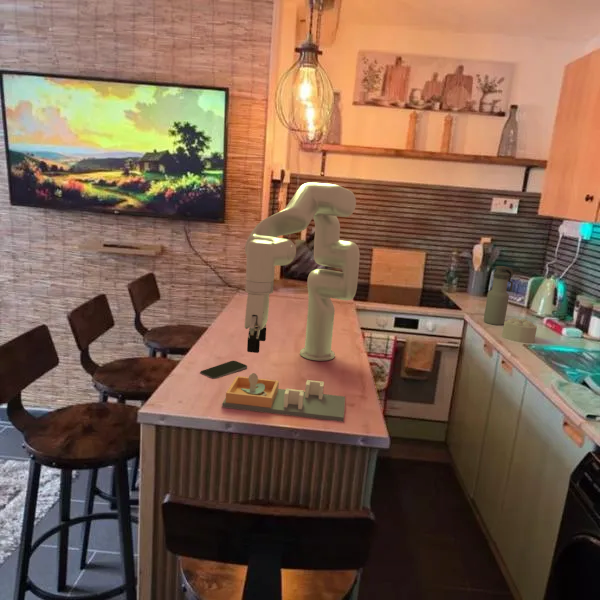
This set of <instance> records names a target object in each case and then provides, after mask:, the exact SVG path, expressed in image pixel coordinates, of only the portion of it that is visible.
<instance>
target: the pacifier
mask: <svg viewBox="0 0 600 600" xmlns="http://www.w3.org/2000/svg"><path fill="white" fill-rule="evenodd" d="M248 377H249V382H250V389H243V388H241V390H242V391H244V392H246V393H247V394H251V395H259V394H260V393H262V395H260V396H266V395H267V393H266V392H264V390H265V385H264V384H262V383H259V384H256V383H257V381H258V379H259V377H258V375H257V373H255V372H252V373H250V374H249V376H248ZM256 387H258V388H256Z"/></svg>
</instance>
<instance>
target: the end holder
mask: <svg viewBox="0 0 600 600" xmlns="http://www.w3.org/2000/svg"><path fill="white" fill-rule="evenodd" d="M279 382H280V381H279V380H277V379H276V380H274V379H265V378H258V381H257V383H256V384H259V383H262V384H264V385H265V390H264V392H266V393H267V395H266V396H260V395H262V393H260V394H259V395H251V394H247V393H246V392H244V391H242V390H241V388H243V389H250V382H249V376H239V375H237V376H235V378H234V380H233V381H232V383H231V384H230V386H229V387H228V389H227V390H226V392H225V398H226V402H227V403H235V404H244V405H252V406H260V407H269V408H271V407H272V404H273V402H274V399H275V397H276V394H277V391H278V389H279ZM256 388H258V387H256Z"/></svg>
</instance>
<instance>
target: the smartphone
mask: <svg viewBox="0 0 600 600" xmlns="http://www.w3.org/2000/svg"><path fill="white" fill-rule="evenodd" d="M247 369H248V365H247V364H245V363H242V362H240V361H237V360H231V361H227V362H224V363H221V364H217V365H215V366H212V367H209V368H205V369H203V370H200V372H199V373H200V374H201V375H203V376H205V377H207V378H209V379H212V380H215V379H220V378H223V377H225V376H229V375H232V374H235V373H238V372H241V371H245V370H247Z"/></svg>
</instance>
